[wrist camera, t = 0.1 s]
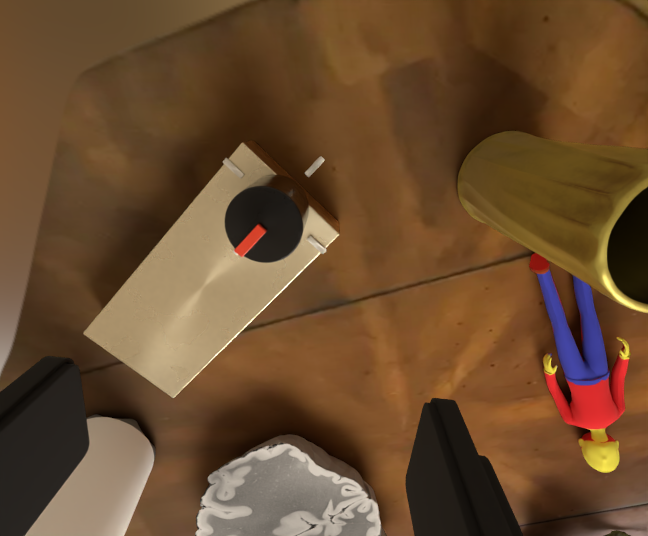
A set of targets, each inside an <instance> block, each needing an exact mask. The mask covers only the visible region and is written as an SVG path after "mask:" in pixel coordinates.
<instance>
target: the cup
mask: <svg viewBox="0 0 648 536" xmlns="http://www.w3.org/2000/svg"><path fill="white" fill-rule="evenodd" d="M86 419H87V426H88V433H89V440H90V444H89V448H88V451H87V453H86V455H85V457H84V458H83V459H82V461H81V462H80V463H79V465H78V466H77V467H76V469H75V470H74V471H73V472H72V474H71V475H70V476H69V478H68V479H67V480H66V482H65V483H64V484H63V486H62V487H61V488H60V490H59V491H58V492H57V494H56V495H55V496H54V498H53V499H52V500H51V502H50V503H49V504H48V506H47V507H46V508H45V510H44V511H43V512H42V513H41V515H40V516H39V517H38V519H37V520H36V521H35V523H34V524H33V525H32V527H31V528H30V529H29V531H28V532H27V533H26V535H25V536H124V535H125V532H126V530H127V527H128V525H129V522H130V520H131V518H132V515H133V513H134V510H135V508H136V505H137V503H138V501H139V498H140V496H141V493H142V491H143V489H144V486H145V484H146V481H147V479H148V476H149V474H150V472H151V469H152V467H153V463H154V459H155V446H154V445H153V444H151V443H150V442H149V440H148V439H147V438H146V437H145V435H144V434H143V432H142V431H141V429H140V427H139V425H138V423H137V421H135V420H133V419H116V418H109V417H102V416H101V415H97V414H95V415H92V416H90V417H88V418H86Z"/></svg>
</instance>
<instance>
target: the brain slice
mask: <svg viewBox="0 0 648 536" xmlns="http://www.w3.org/2000/svg"><path fill="white" fill-rule="evenodd" d="M207 479H208V483H209V486H208V487H207V489H206V491H205V493H204V494H203V496H202V497H201V499H200V503H201V504H200V506H201V507H202V508H201V509H200V510H199V512H198V514H197V516H196V524H197V528H198V530H197V532H196V533H195V536H387V535H386V533H385V531H384V530H383V528H382V525H381V521H380V516H379V509H378V504H377V500H376V497H375V493H374V490H373V489H372V487H371V486H370V485H369V484H367V483H366V482H365V481H363V480H362V478H361V476H360V474H359V473H358V472H357V471H356V470H355V469H354V468H352V467H351V466H349V465H348V464H346V463H345V462H343V461H341V460H339V459H337V458H335V457H333V456H329V455H328V454H327V453H326V452H325V451H324V450H323V449H322V448H320V447H318V446H316V445H315V444H313V443H312V442H308V441H307V440H306V439H304V438H302V437H300V436H297V435H291V434H288V435H280V436H277V437H275V438H273V439H270V440H268V441H266V442H264V443H262V444H260V445H258V446H256V447H254V448H252V449H250V450H249V451H247V452H246V453H245V454H243V456H240V457H237V458H235V459H233V460H231V461H229V462H228V463H226V464H224V465H222V466H221V467H220V468H219V469H218V470H216V471H214V472H212V473H211V474H210V475H209V477H208V478H207Z"/></svg>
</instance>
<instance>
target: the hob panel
mask: <svg viewBox="0 0 648 536" xmlns="http://www.w3.org/2000/svg"><path fill="white" fill-rule="evenodd" d="M324 161H325V159H324V158H323V157H322V156H320V157H319V158H318V159H317V160H316V161H315V162H314V163H313V164H312V165H311V166H310V168H309V169H308V170H307V171H306V172H305V173H304V174H305V175H306V176H307V177H308V178H309V177H310V176H311V175H312V174H313V172H314V171H315V170H316V169H317V168H318V167H319V166H320V165H321V164H322V163H323V162H324ZM223 163H224V164H223V166H222V167H221V168H220V169H219V170H218V172H217V173H216V174H215V175H214V176H213V178H212V179H211V180H210V181H209V182H208V184H207V185H206V186H205V187H204V188H203V190H202V191H201V192H200V193H199V194H198V196H197V197H196V198H195V199H194V200H193V202H192V203H191V204H190V205H189V206H188V208H187V209H186V210H185V211H184V212H183V214H182V215H181V216H180V217H179V218H178V220H177V221H176V222H175V223H174V224H173V226H172V227H171V228H170V229H169V230H168V232H167V233H166V234H165V235H164V236H163V238H162V239H161V240H160V241H159V242H158V244H157V245H156V246H155V247H154V248H153V250H152V251H151V252H150V253H149V254H148V256H147V257H146V258H145V259H144V260H143V262H142V263H141V264H140V265H139V266H138V268H137V269H136V270H135V271H134V272H133V274H132V275H131V276H130V277H129V278H128V280H127V281H126V282H125V283H124V284H123V286H122V287H121V288H120V289H119V290H118V292H117V293H116V294H115V295H114V296H113V298H112V299H111V300H110V301H109V302H108V304H107V305H106V306H105V307H104V308H103V310H102V311H101V312H100V313H99V314H98V316H97V317H96V318H95V319H94V320H93V322H92V323H91V324H90V325H89V326H88V328H87V329H86V330H85V331H84V333H83V334H84V335H85V336H87V337H88V338H90V339H91V340H92V341H94V342H95V343H97V344H98V345H99V346H101V347H102V348H104V349H105V350H106V351H108V352H109V353H111V354H112V355H113V356H115V357H116V358H118V359H119V360H120V361H122V362H123V363H125V364H126V365H127V366H129V367H130V368H132V369H133V370H134V371H136V372H137V373H139V374H140V375H141V376H143V377H144V378H146V379H147V380H148V381H150V382H151V383H153V384H154V385H155V386H157V387H158V388H160V389H161V390H162V391H164V392H165V393H167V394H168V395H169V396H171V397H172V398H174V397H175V396H176V395H177V394H178V393H179V392H180V391H181V390H182V389H183V388H184V387H185V386H187V385H188V384H189V383H190V382H191V381H192V380H193V379H194V378H195V377H196V376H197V375H198V374H199V373H200V372H201V371H202V370H203V369H204V368H205V367H206V366H207V365H208V364H209V363H210V362H211V361H212V360H213V359H214V358H215V357H216V356H217V355H218V354H219V353H220V352H221V351H222V350H223V349H224V348H225V347H226V346H227V345H228V344H229V343H230V342H231V341H232V340H233V339H234V338H235V337H236V336H237V335H238V334H239V333H240V332H241V331H242V330H243V329H244V328H245V327H246V326H247V325H248V324H249V323H250V322H251V321H253V320H254V319H255V318H256V317H257V316H258V315H259V314H260V313H261V312H262V311H263V310H264V309H265V308H266V307H267V306H268V305H269V304H270V303H271V302H272V301H273V300H274V299H275V298H276V297H277V296H278V295H279V294H280V293H281V292H282V291H283V290H284V289H285V288H286V287H287V286H288V285H289V284H290V283H291V282H292V281H293V280H294V279H295V278H296V277H297V276H298V275H299V274H300V273H301V272H302V271H303V270H304V269H305V268H306V267H307V266H308V265H309V264H310V263H311V262H312V261H313V260H314V259H315V258H316V257H317V256H319V255H320V254H321V253H322V254H324V253H325V252H326V251H327V250H326V248H327V247H328V246H329V245H330V244H331V243H332V242H333V241H334V240H335V239H336V238H337V237H338V236H339V234H340V227H339V222H338V221H337V220H336V219H335V218H334V217H333V216H332V215H331V214H330V213H329V212H328V211H327V210H326V209H325V208H324V207H323V206H322V205H320V204H319V203H318V202H317V201H316V200H315V199H314V198H313V197H312V196H311V195H310V194H309V193H308V192H307V191H306V190H305V189H304V188H303V187H302V186H301V185H300V184H299V185H300V186H301V187H302V189H303V190H304V192H305V194H306V196H307V198H308V202H309V215H308V218H307V222H306V225H305V228H304V231H303V235H302V238H301V241H300V243H299V245H298V246H297V248H296V249H295V250H294V252H293V253H291V254H290V255H289V256H288V257H286V258H284V259H282V260H280V261H277V262H272V263H261V262H256V261H253V260H250V259H248V258H246V257H244V256H243V257H241V256H239V255H238V254H237V253H236V252H235V251H234V250H235V248H234V247H233V246H232V244H231V243H230V241H229V239H228V237H227V234H226V231H225V222H224V221H225V214H226V210H227V207H228V205H229V204H230V202H231V201H232V199H233V198H234V197H235V196H236V195H237V194H239V193H240V192H241V191H243V190H244V189H245V188H247V187H248V186H250V185H251V184H252V183H254V182H255V181H256V180H258V179H260V178H261V177H264V176H267V175H283V176H286V177H289V178H291V179H292V180H294V179H293V178H292V177H291V176H290V175H289V174H288V173H287V172H286V171H285V170H284V169H283V168H282V167H281V166H280V165H279V164H278V163H277V162H275V161H274V160H273V159H272V158H271V157H270V156H269V155H268V154H267V153H266V152H265V151H264V150H263V149H262V148H261V147H260V146H259V145H258V144H257V143H256V142H255V141H253V140H251V141H246V142H242V143H241V144H240V145H239V146H238V148H237V149H236V150H235V151H234V152H233V154H232V155H231V156H230V157H229V158H225V160H224V161H223ZM294 181H295V180H294ZM295 182H296V181H295Z"/></svg>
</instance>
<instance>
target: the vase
mask: <svg viewBox="0 0 648 536" xmlns="http://www.w3.org/2000/svg"><path fill="white" fill-rule="evenodd" d="M457 187H458V196H459V199H460V201H461V204H462V205H463V207H464V209H465V210H466V211H467V212H468V213H469V215H470V216H472V217H473V218H474V219H476V220H478V221H480V222H482V223H485V224H487V225H489V226H490V227H492V228H493V229H495V230H497V231H499V232H500V233H502V234H504V235H505V236H507V237H509V238H511V239H512V240H514V241H516V242H518V243H519V244H521V245H523V246H525V247H526V248H528V249H530V250H532V251H533V252H535V253H537V254H539V255H541V256H542V257H544V258H546V259H547V260H549V261H551V262H553V263H554V264H556V265H557V266H559V267H561V268H562V269H564V270H566V271H567V272H569V273H571V274H572V275H574V276H576V277H577V278H579V279H580V280H582V281H583V282H585V283H586V284H588V285H589V286H591V287H592V288H594V289H596V290H597V291H599V292H600V293H602V294H604V295H605V296H607V297H609V298H610V299H612V300H614V301H615V302H617V303H619V304H621V305H624V306H626V307H628V308H630V309H633V310H637V311H640V312H644V313H648V149H644V148H632V147H621V146H604V145H591V144H582V143H575V142H562V141H555V140H550V139H545V138H541V137H536V136H533V135H531V134H528V133H525V132H520V131H505V132H501V133H497V134H494V135H492V136H490V137H488V138H486V139H485V140H483V141H482V142H481V143H479V144H478V145H477V146H476V147H475V148H474V149H473V150H471V152H470V153H469V154H468V155H467V157H466V158H465V160H464V162H463V164H462V166H461V168H460V171H459V175H458V183H457Z"/></svg>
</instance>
